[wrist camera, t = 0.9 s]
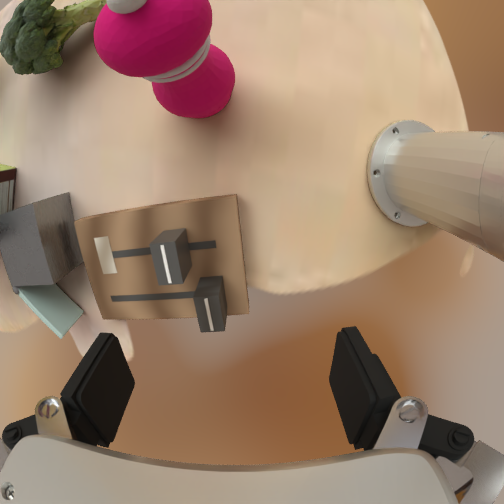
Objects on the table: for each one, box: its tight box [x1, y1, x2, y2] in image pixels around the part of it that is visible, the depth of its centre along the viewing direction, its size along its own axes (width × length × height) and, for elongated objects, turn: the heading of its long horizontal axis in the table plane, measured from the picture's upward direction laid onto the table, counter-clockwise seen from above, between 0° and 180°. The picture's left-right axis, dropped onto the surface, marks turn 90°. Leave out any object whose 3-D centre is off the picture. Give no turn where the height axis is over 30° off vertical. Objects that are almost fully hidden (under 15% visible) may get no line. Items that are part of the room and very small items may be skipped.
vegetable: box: [0, 0, 107, 75], centre depth 15 cm, size 12×13×15 cm
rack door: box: [13, 284, 84, 339], centre depth 28 cm, size 10×2×6 cm, turn 45°
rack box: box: [0, 192, 84, 286], centre depth 25 cm, size 9×9×7 cm
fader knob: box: [149, 228, 192, 286], centre depth 25 cm, size 2×4×4 cm, turn 5°
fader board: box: [74, 194, 249, 332], centre depth 27 cm, size 19×13×6 cm
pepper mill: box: [94, 0, 235, 118], centre depth 14 cm, size 7×7×20 cm
